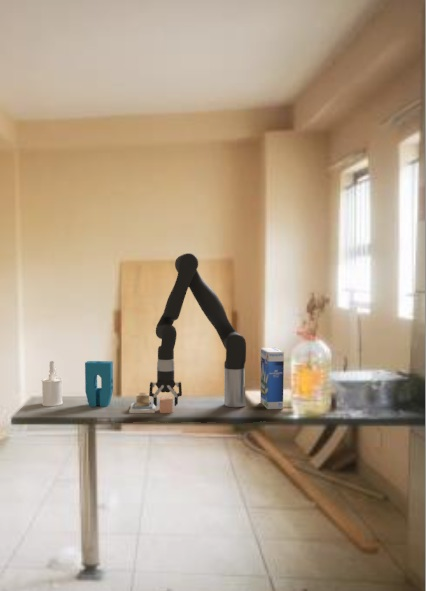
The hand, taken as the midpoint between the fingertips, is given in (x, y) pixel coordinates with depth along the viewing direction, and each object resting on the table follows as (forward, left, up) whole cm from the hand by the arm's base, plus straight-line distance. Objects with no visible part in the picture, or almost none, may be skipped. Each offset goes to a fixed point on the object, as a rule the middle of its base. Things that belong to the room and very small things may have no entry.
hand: (165, 405), depth 230 cm
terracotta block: (0, 0, -3) cm, 3 cm away
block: (+31, -12, -3) cm, 33 cm away
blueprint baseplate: (+10, -4, -2) cm, 11 cm away
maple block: (+10, -4, -1) cm, 11 cm away
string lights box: (-48, -6, -3) cm, 49 cm away
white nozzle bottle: (+53, -15, -3) cm, 55 cm away
